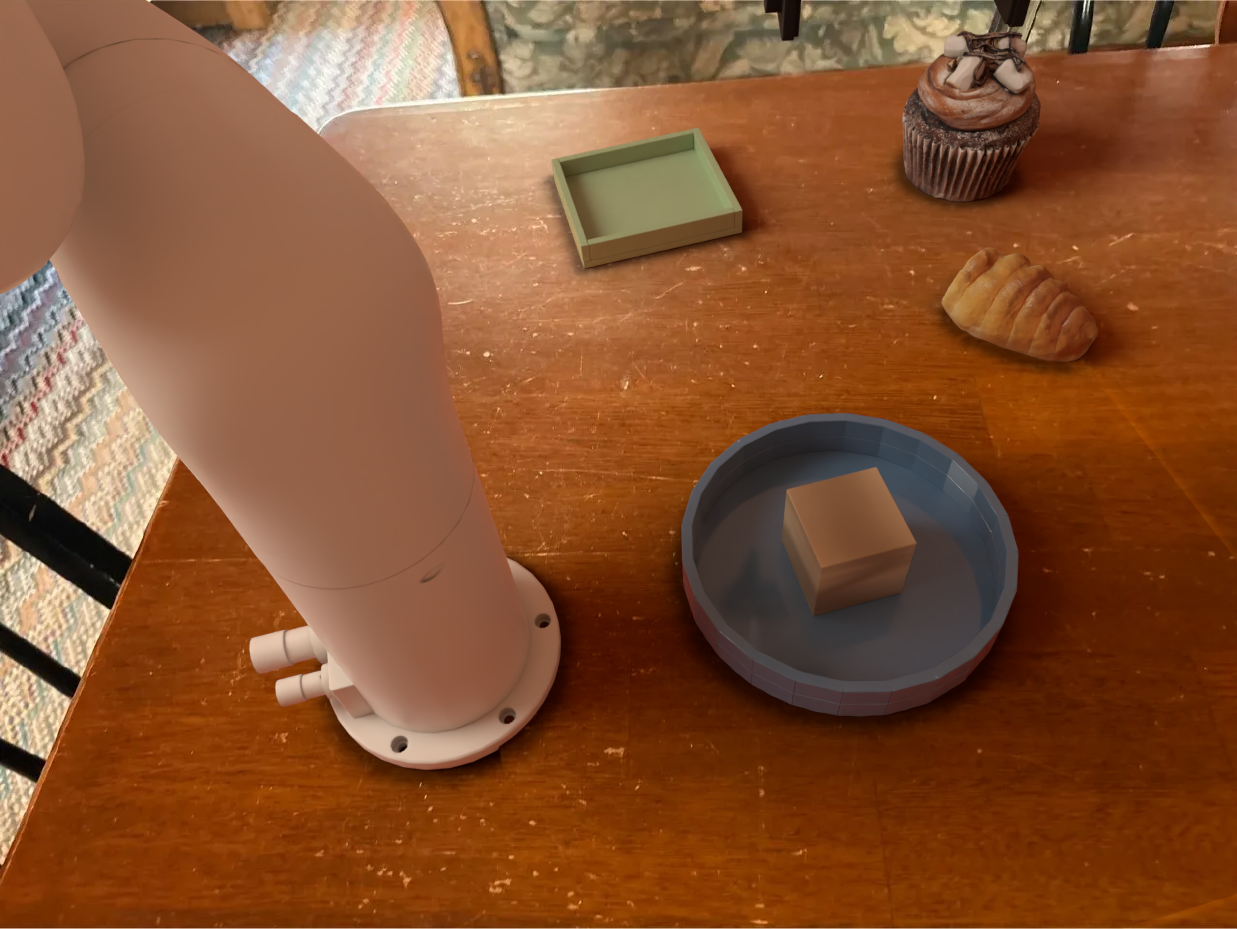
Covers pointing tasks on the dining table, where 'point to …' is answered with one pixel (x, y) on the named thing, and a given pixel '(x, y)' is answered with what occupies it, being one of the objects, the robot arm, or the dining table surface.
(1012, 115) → the cupcake
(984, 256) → the pastry
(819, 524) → the block
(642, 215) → the tray
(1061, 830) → the dining table surface
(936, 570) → the bowl
